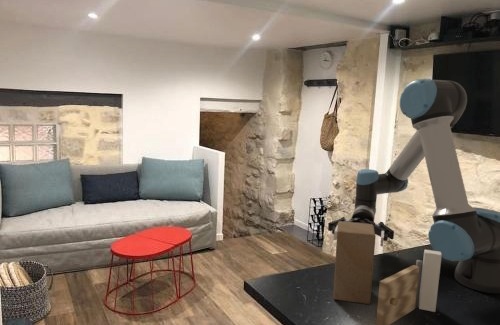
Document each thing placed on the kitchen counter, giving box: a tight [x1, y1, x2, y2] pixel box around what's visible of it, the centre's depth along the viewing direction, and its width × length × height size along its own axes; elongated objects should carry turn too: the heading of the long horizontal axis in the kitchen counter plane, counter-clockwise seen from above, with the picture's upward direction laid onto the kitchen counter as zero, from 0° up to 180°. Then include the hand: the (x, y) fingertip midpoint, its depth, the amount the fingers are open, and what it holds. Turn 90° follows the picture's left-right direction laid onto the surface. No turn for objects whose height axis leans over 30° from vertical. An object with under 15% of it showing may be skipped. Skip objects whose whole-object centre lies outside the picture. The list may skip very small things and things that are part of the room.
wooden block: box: [332, 221, 377, 305], centre depth 113 cm, size 10×10×20 cm
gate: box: [375, 264, 419, 325], centre depth 102 cm, size 16×3×12 cm, turn 130°
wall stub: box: [415, 249, 442, 313], centre depth 107 cm, size 6×2×16 cm, turn 70°
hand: (358, 238), depth 120 cm, fingers open, 13 cm apart
